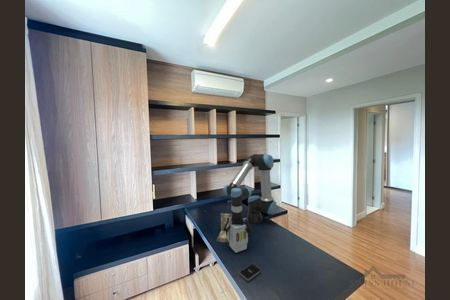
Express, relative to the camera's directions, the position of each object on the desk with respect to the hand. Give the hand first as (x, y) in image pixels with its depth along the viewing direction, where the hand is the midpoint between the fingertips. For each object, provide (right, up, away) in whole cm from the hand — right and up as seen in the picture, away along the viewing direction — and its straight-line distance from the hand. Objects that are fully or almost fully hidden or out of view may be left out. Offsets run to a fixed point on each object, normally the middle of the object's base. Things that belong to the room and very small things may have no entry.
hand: (237, 240), depth 117 cm
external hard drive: (+5, -7, -23) cm, 24 cm away
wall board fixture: (-5, -6, +16) cm, 18 cm away
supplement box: (0, -5, 0) cm, 5 cm away
